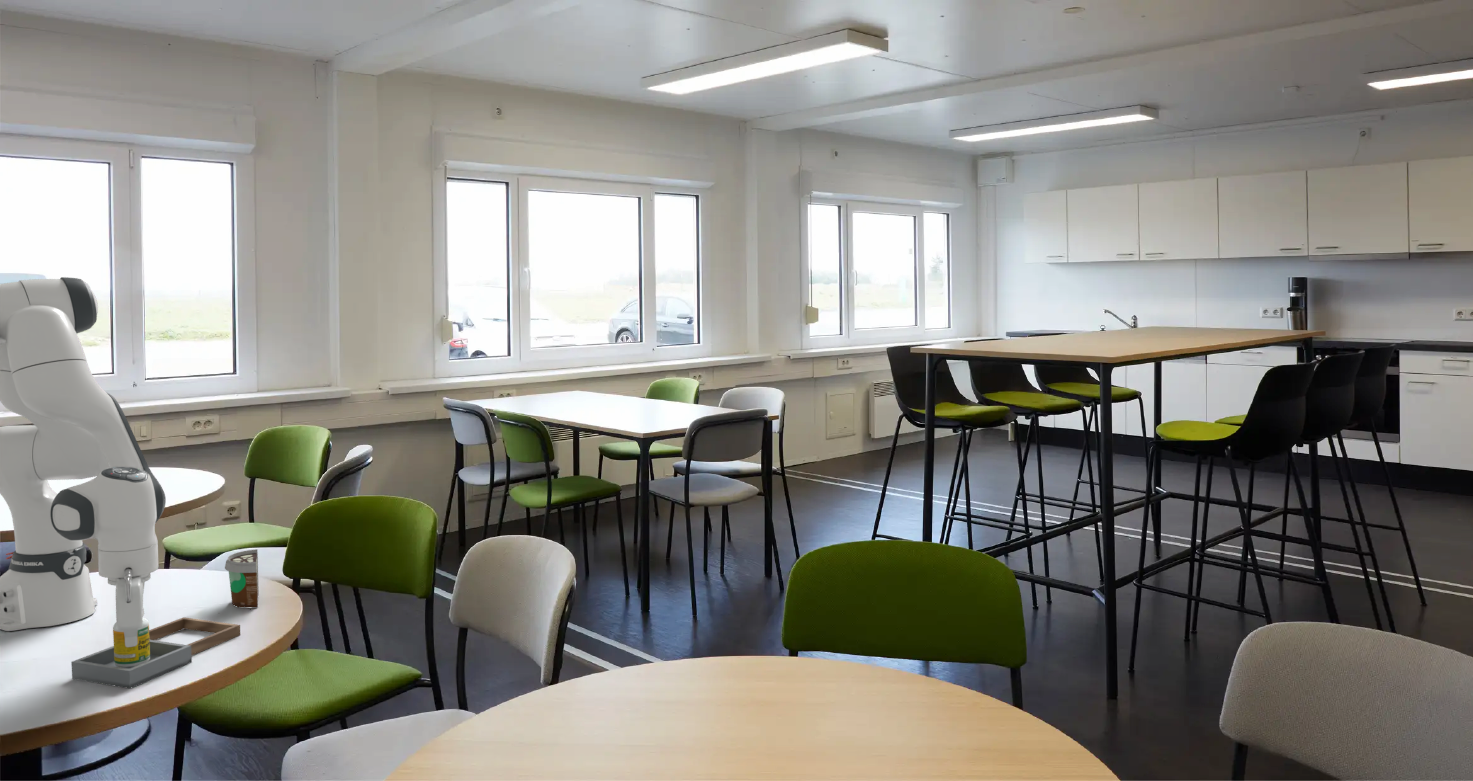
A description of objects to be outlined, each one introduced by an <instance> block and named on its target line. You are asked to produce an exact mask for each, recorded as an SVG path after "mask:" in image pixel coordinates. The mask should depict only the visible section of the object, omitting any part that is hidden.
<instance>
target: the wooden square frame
mask: <svg viewBox="0 0 1473 781" xmlns="http://www.w3.org/2000/svg"><path fill="white" fill-rule="evenodd" d="M182 630H189V631H197V632H204V633H212V634H209V635H207V636H204V637H203V638H201V639H198V640H195V641H193V642H190V643H187V645H190V646H191V654H192V656H195V655H197V654H199V653H201V652H203V651H205V650H209V649H211V648H213V647H215V646H218V645H220V644H222V643H224V642H228V641H230V640H232V639H235V638H236V637H239V636H241V625H240V624H238V623H237V624H235V623H227V622H221V621H220V622H219V621H215V620H214V621H213V620H208V619H207V620H206V619H201V618H200V619H199V618H191V617H185V616H184V617H182V618H179V619H175V620H173V621H170V622H168V623H165V624H162V625H159V626H157V627H154V628H150V629H149V640H156V641H158V640H159V639H161V638H164V637H166V636H169V634H170V635H172V634H175V633H177V632H179V631H182Z"/></svg>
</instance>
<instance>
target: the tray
mask: <svg viewBox="0 0 1473 781" xmlns="http://www.w3.org/2000/svg"><path fill="white" fill-rule="evenodd" d="M192 656H193V655H192V654H191V646H190V645H188V644H183V643H182V644H181V643H174V642H168V641H162V640H150V660H149V661H148V662H145V663H143V664H140V665H138V666H135V667H129V668H122V667H117V666H116V665H115V663H114V645H112V646H110V647H107V648H105V649H102V650H99V651H96V652H94V653H91V654H88V655H86V656H83V657H80V658H78V659H75V660H72V661H71V680H77V681H82V682H89V683H94V682H95V683H94V684H100V683H103V684H102V685H106V684H107V686H112V685H115V686H114V687H118V686H119V687H120V688H124V687H127V688H126V689H132V688H135V687H137V686H139V685H141V683H142V684H144V683H147V682H148V681H151V680H154V679H155V678H159V677H160V676H162V675H164V674H167V673H170V672H172V671H174V670H176V669H178V668H181V667H183V666H185V665H188V664H191V663H192V662H193V661H192V660H193V659H192ZM136 685H137V686H136ZM134 686H135V687H134ZM131 687H132V688H131Z"/></svg>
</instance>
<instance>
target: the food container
mask: <svg viewBox="0 0 1473 781" xmlns="http://www.w3.org/2000/svg"><path fill="white" fill-rule="evenodd" d="M258 554H259V553H258V549H256V548H255V549H248V550H242V551H237V552H234V553H232V554H230V555H229V556H227V559H226V561H225V564H224V570H226V571H227V572H228V577H229V578H228V580H229V586H230V595H231V597H230V598H231V605H232V604H233V605H235V606H237V607H236V608H239V607H258V608H259V597H260V596H259V595H260V594H259V592H260V591H259V564H258V563H259V561H258V560H259V558H258V557H259V556H258ZM258 596H259V597H258ZM233 605H232V606H233ZM235 606H234V607H235Z"/></svg>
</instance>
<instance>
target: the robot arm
mask: <svg viewBox="0 0 1473 781" xmlns="http://www.w3.org/2000/svg"><path fill="white" fill-rule="evenodd" d="M98 312H99V306H98V300H97V298H96V295H95V293H94V292H93V290H92V289H91V287H90V285H89V284H88V283H87V282H85V281H84V280H83V279H81V278H78V277H66V276H64V277H60V278H40V279H39V278H38V279H36V278H35V279H23V280H22V279H21V280H18V281H13V282H5V283H0V403H1V404H2V405H3V406H4V407H5V408H6V409H7V410H8V411H10V412H12V413H15V414H16V415H19V416H21V417H24V418H25V419H27V420H28V421H30V422H31V423H32V425H31V424H30V425H29V424H28V425H26V424H25V425H22V424H21V425H20V424H19V425H2V426H0V496H2V498H3V500H4V502H5V503H6V504H7V506H8V509H9V511H10V515H11V518H12V525H13V534H14V543H15V544H14V546H15V550H14V551H12V552H8V553H5V556H7V557H6V558H5V560H10V563H9V567H8V570H7V571H5V572H4V573H2V575H1V576H0V630H2V631H5V632H10V631H12V632H13V631H19V630H25V629H33V628H44V627H52V626H58V625H64V624H67V623H68V624H69V623H71V622H76V621H78V620H82V619H84V618H87V617H89V616H91V615H93V614H94V613H95V612H96V610H97V609H96V606H97V605H98V598H97V597H94V594H93V587H92V582H91V581H92V580H91V575H90V570H89V567H88V566H86V565H85V562H87V549H86V544H85V543H83V541H86V540H90V539H95V540H96V541H97V544H98V545H97V560H98V562H97V563H98V564H97V566H98V567H97V568H98V575H99V577H102V578H106V579H107V584H108V585H110V586H114V587H115V618H116V622H117V629H118V630H120V631H121V630H123V631H124V636H125V646H126V647H133V646H136V645H137V632H138V628H140V627H142V623H143V618H144V616H143V607H144V591H145V582H149V580H151V579H152V578H151V573H155V571H157V570H158V569H159V546H158V544H159V542H158V537H157V534H156V531H155V526H156V525H155V524H156V523H157V522H158V521H159V520H160V518H161V517H162V515H163V512H164V510H165V507H166V494H165V492H164V489H163V486H162V484H161V483H160V481H158V479H157V478H156V477H155V475H154V474H153V472H152V470H151V469H150V466H149V465H148V463H147V460H146V459H145V458H146V457H145V456H144V454H143V452H142V450H141V447H140V445H139V443H138V441H137V439H136V436H135V435H134V432H133V430H132V428H131V425H130V423H129V421H128V419H127V417H126V415H125V413H124V411H123V409H122V407H121V405H120V403H119V402H118V401H117V399H116V398H115V397H114V396H113V395H112V394H110V393H108V392H107V391H106V390H104V389H103V388H102V387H101V385H100V384H99V383H98V381H97V380H96V379H95V377H94V375H93V374H92V372H91V370H90V367H89V364H88V360H87V358H86V354H85V351H84V348H83V346H82V343H81V340H80V338H79V336H78V334H80V333H83V332H86V331H88V330H90V329H92V327H93V326H94V325H95V324H96V323H97V319H98V318H97V317H98ZM91 478H93V479H91ZM83 479H90V480H88V481H86V482H84V483H80V484H76V485H73V486H70V487H66V488H65V489H62V490H60V491H59V492H58V493H57V492H56V491H55V490H53V488H52V487H51V485H50V484H49V481H60V480H62V481H63V480H64V481H65V480H67V481H68V480H83ZM116 622H115V623H116Z"/></svg>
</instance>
